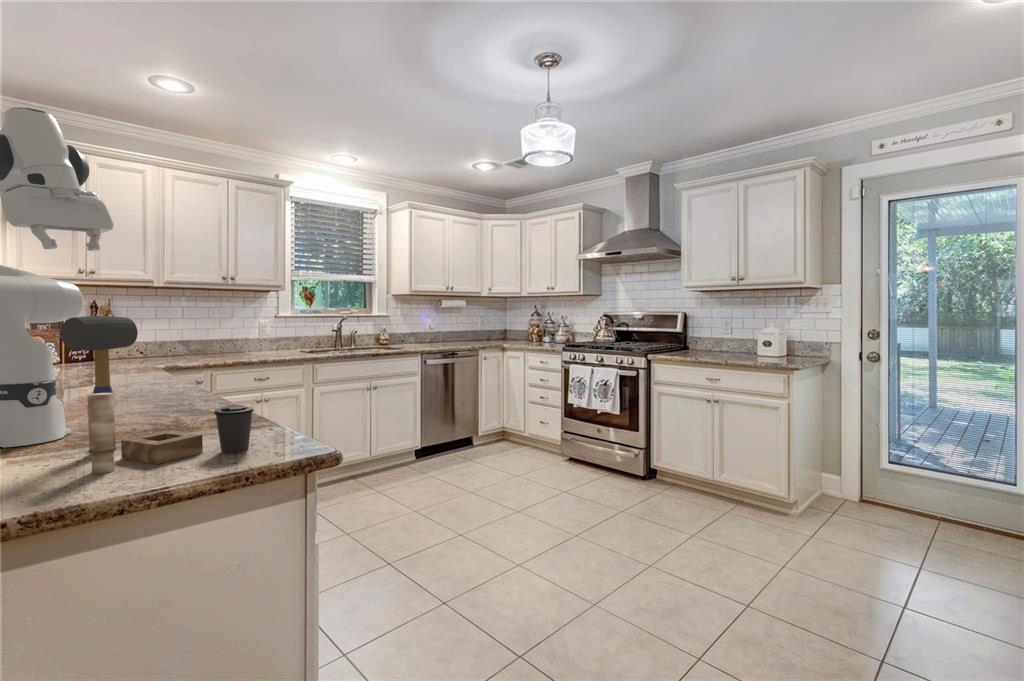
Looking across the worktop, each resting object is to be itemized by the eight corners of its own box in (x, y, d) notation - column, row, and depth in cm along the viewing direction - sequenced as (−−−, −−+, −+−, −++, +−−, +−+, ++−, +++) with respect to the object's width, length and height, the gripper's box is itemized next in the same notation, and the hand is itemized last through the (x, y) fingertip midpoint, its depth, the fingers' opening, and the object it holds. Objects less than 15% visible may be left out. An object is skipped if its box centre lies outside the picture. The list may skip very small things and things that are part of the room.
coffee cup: (212, 457, 111) (211, 410, 110) (215, 448, 118) (214, 404, 118) (254, 453, 114) (254, 408, 114) (255, 444, 122) (254, 402, 121)
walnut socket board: (121, 458, 109) (121, 440, 109) (168, 447, 118) (168, 430, 118) (157, 464, 105) (156, 445, 105) (202, 452, 114) (202, 434, 114)
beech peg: (84, 473, 99) (81, 395, 99) (108, 467, 103) (105, 392, 102) (98, 475, 98) (95, 396, 97) (121, 469, 102) (119, 393, 101)
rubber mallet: (89, 461, 107) (84, 315, 106) (61, 458, 109) (55, 315, 108) (144, 446, 119) (140, 315, 118) (118, 444, 121) (114, 315, 120)
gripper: (88, 196, 121) (106, 254, 123) (-13, 182, 101) (10, 251, 103) (110, 189, 120) (128, 247, 121) (12, 173, 100) (35, 243, 101)
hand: (73, 249), depth 112 cm, fingers open, 8 cm apart
